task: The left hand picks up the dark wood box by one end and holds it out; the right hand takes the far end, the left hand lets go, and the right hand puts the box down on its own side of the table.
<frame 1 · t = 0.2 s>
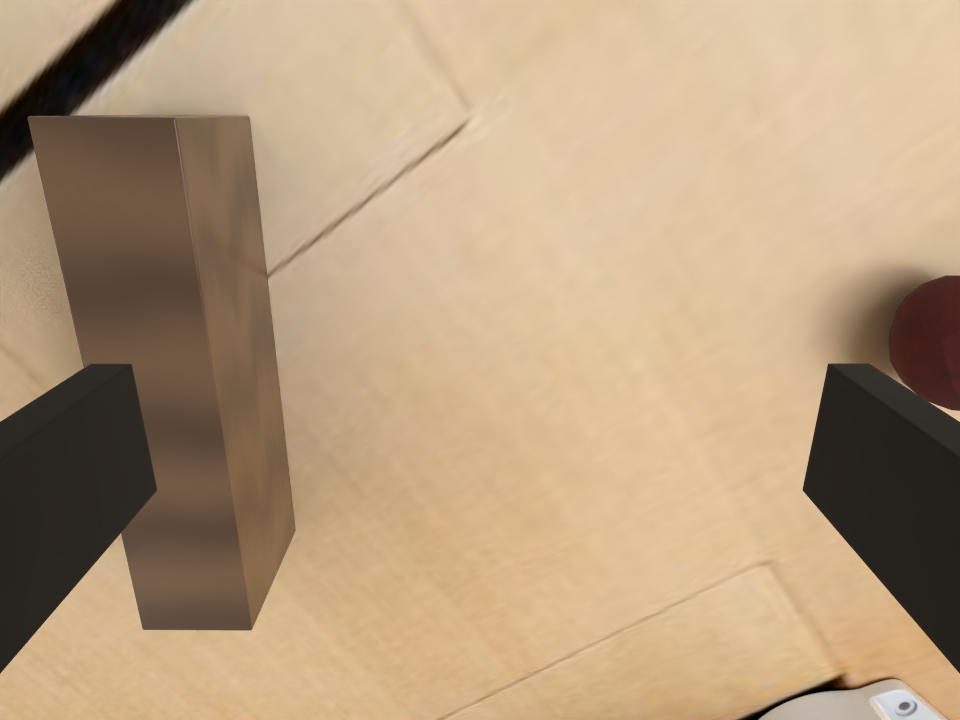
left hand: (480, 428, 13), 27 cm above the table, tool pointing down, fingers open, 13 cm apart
box: (226, 347, 41), on the table
dark maroon ball: (921, 321, 40), on the table
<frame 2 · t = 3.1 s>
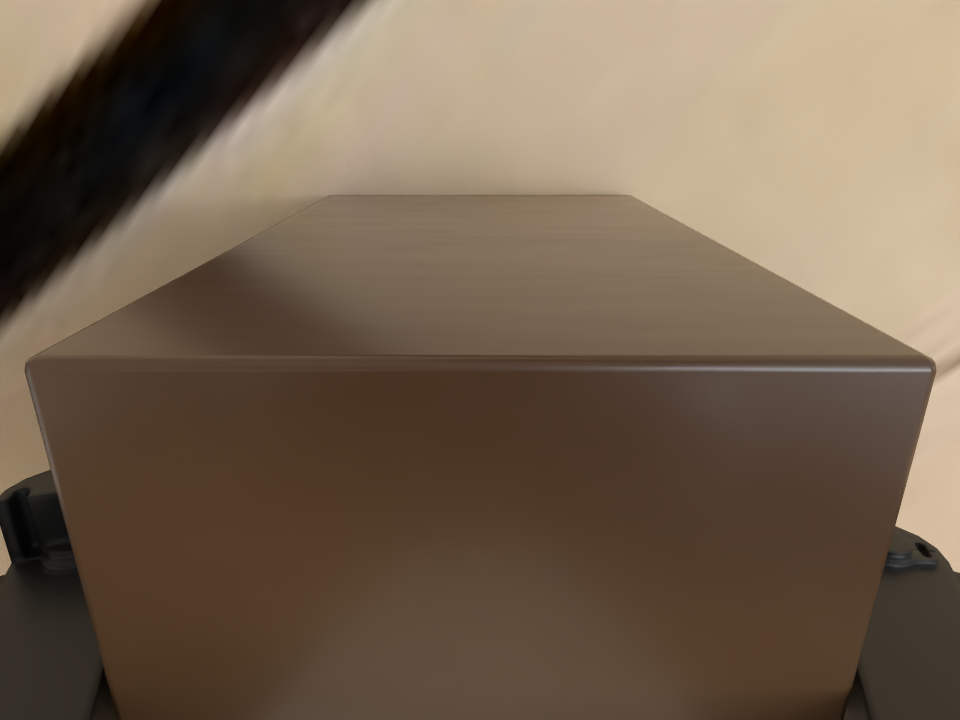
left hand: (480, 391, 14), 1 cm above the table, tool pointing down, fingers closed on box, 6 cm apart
box: (480, 701, 18), on the table, touching left hand
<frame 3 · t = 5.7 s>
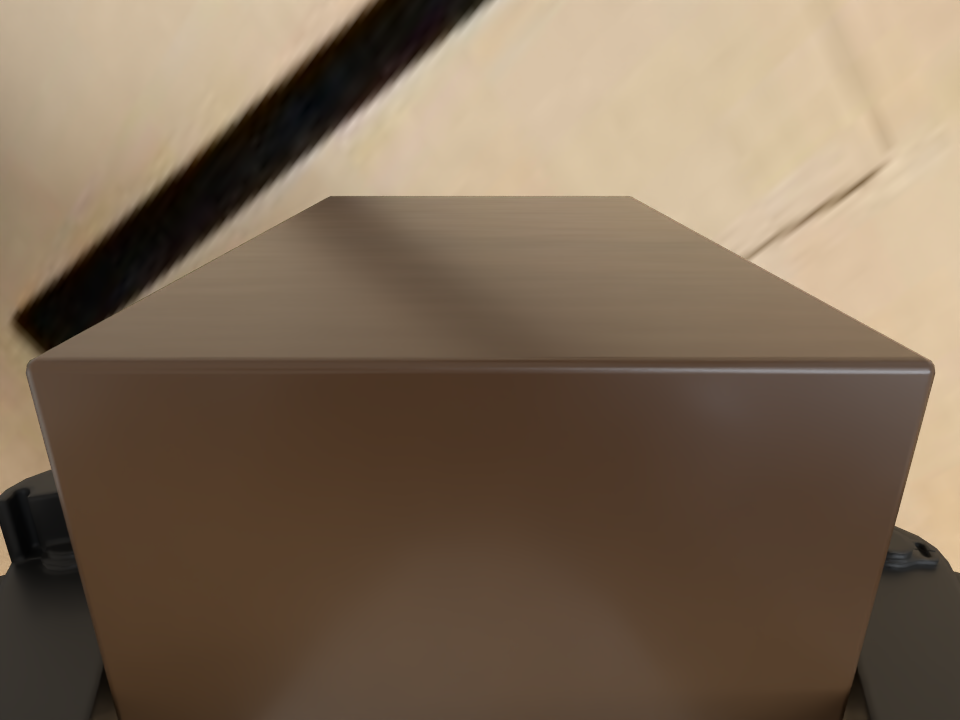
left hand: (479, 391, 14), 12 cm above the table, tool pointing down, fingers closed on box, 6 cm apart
box: (480, 701, 18), point 12 cm above the table, touching left hand
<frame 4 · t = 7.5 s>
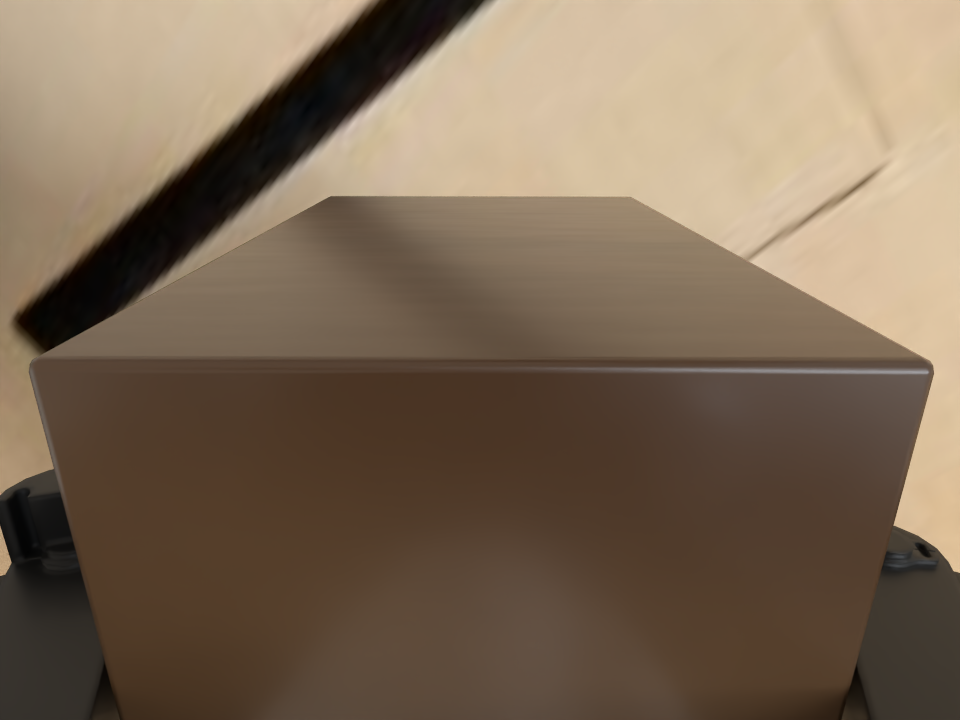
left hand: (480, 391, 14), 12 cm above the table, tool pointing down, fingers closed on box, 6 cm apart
box: (479, 701, 18), point 12 cm above the table, touching left hand, right hand
when the left hand's fingers open (12 cm above the table, at t = 8.7 s): box stays where it is, held by the right hand.
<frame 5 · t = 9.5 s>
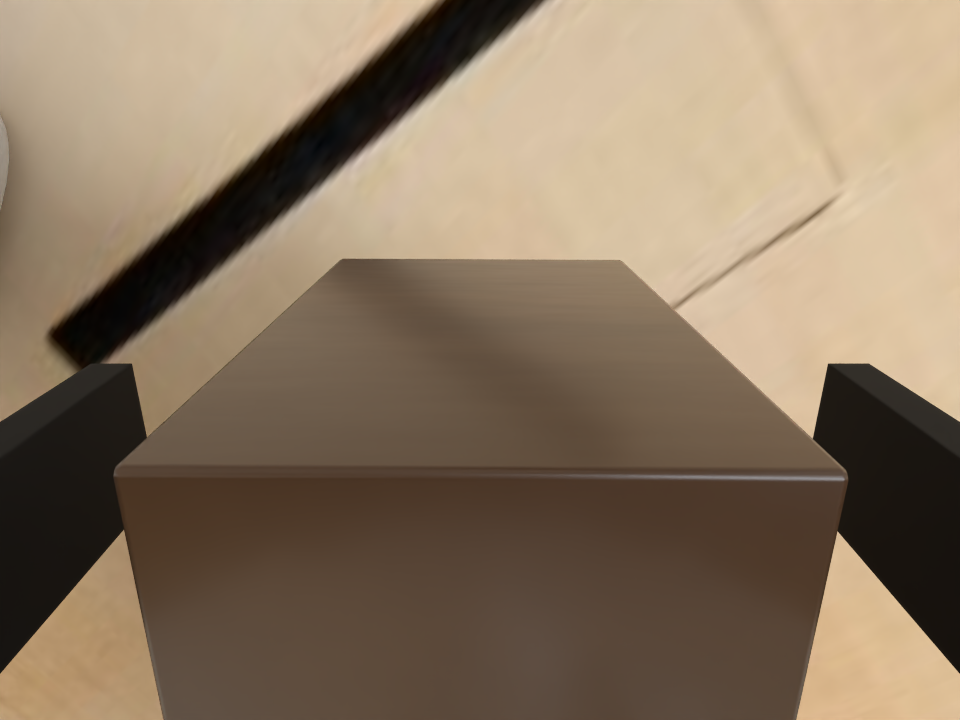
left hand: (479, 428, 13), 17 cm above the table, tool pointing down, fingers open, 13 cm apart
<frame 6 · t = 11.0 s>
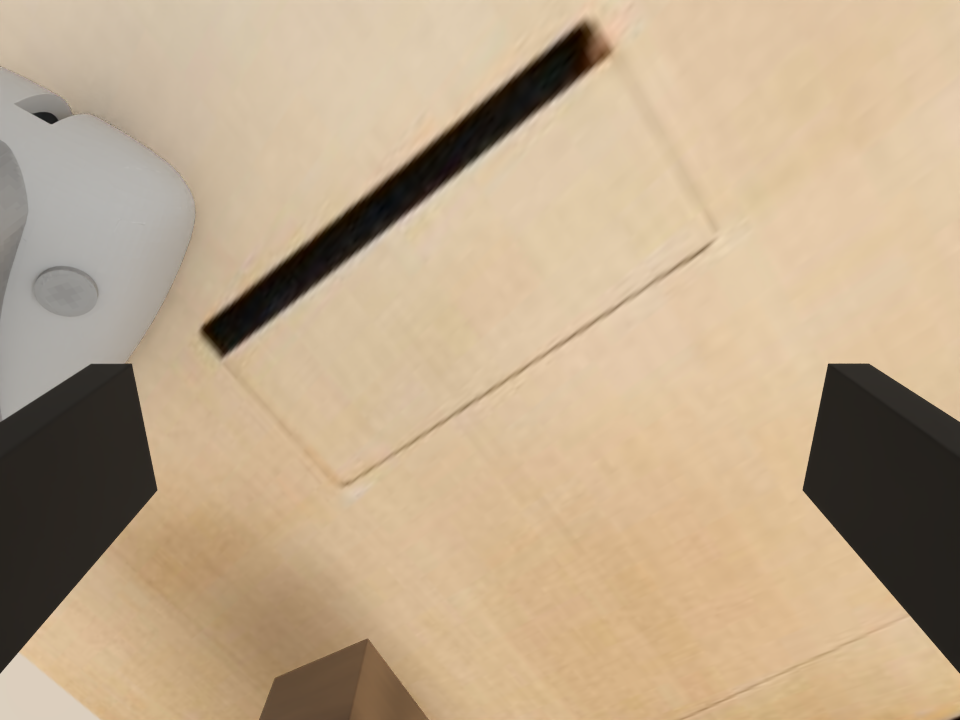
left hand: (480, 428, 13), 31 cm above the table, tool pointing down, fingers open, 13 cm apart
projector: (59, 270, 43), on the table
when the right hand's fingers open (6 cm above the table, at t = 14.3 s): box drops 1 cm, on the table.
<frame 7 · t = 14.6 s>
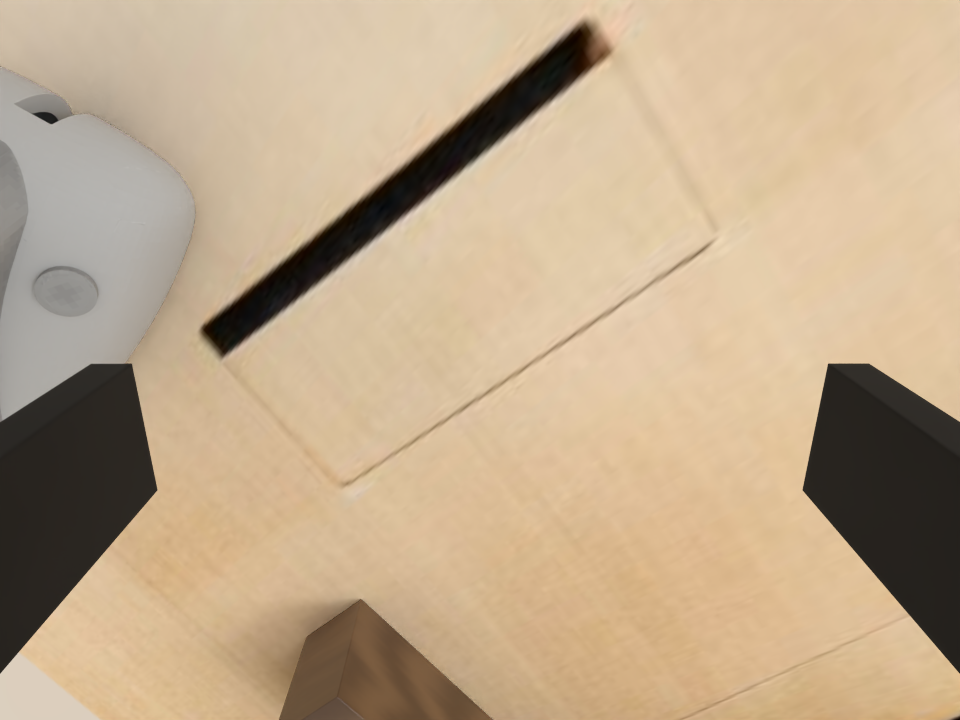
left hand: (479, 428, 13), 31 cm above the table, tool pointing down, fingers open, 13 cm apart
box: (441, 714, 57), on the table
projector: (59, 270, 43), on the table
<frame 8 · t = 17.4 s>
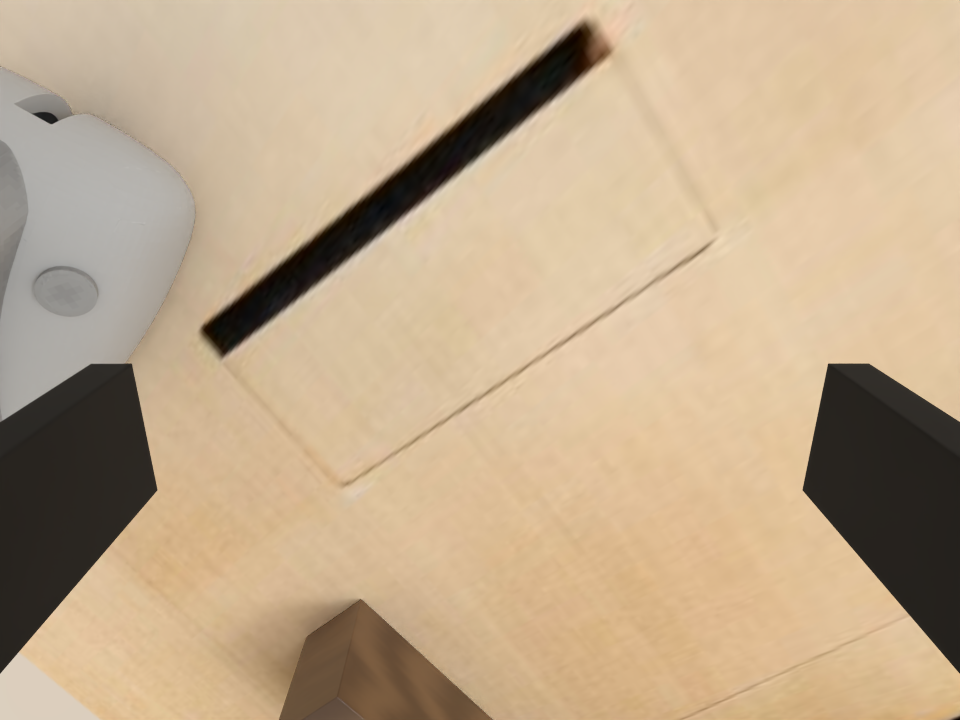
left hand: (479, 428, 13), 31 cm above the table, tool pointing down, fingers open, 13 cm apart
box: (441, 714, 57), on the table
projector: (59, 270, 43), on the table
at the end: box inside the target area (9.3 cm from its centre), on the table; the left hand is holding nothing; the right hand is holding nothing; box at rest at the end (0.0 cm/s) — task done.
